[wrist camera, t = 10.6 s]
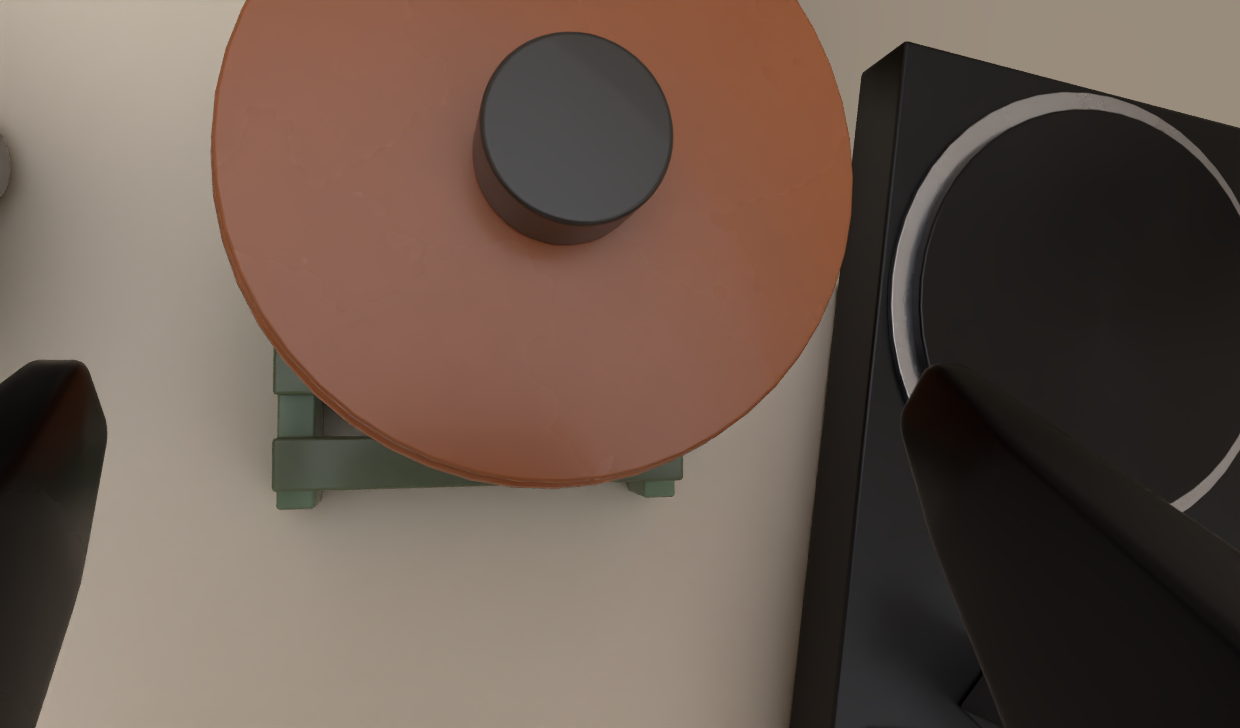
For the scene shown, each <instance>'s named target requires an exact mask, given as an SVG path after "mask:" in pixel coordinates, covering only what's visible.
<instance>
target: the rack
mask: <svg viewBox="0 0 1240 728" xmlns="http://www.w3.org/2000/svg"><path fill="white" fill-rule="evenodd" d="M273 392H274V394H276V395H278V427H277V438H275V439H274V440H273V442H272V490H273V491H275V492H277V506H276V507H277V509H279V510H290V509H312V508H314V507H315V506H316V505H317V504H318V503H319V502H320V501H321V499H322V491H326V490H361V489H395V488H430V487H465V486H499V485H495V484H489V483H484V482H478V481H472V480H468V479H465V478H461V477H458V476H455V475H452V474H448V473H445V472H442V471H439V470H436V469H432V468H429V467H427V466H425V465H422V464H420V463H418V462H416V461H414V460H412V459H409V458H407V457H405V456H403V455H401V454H398V453H396V452H394V451H392V450H390V449H388V448H386V447H385V446H383V445H381V444H380V443H378V442H377V441H375V440H374V439H372V438H370V437H369V436H323V402H322V401H321V400H320V399H319V398H317V397H316V396H315V395H314V394H313V393H312V392H311V390H310V389H309V388H308V387H307V386H306V385H305V384H304V383H303V382H302V381H301V380H300V378H299V377H298V376H297V375H296V374H295V373H294V372H293V371H292V370H291V369H290V368H289V367H288V365H287V364H286V363H285V362H284V361H283V359H282V358H281V356H280V355H279V354H278V352H277V351H276V349H275V348H274V358H273ZM682 478H683V456H681V457H680V458H678V459H676V460H674V461H672V462H670V463H667V464H664V465H662V466H659V467H657V468H654V469H651V470H649V471H646V472H643V473H641V474H638V475H635V476H632V477H627V478H623V479H619V480H615V481H610V482H628V489H629V491H631V492H633V493H636V494H638V495H641V496H644V497H646V498H647V497H672V496H674V480H681V479H682Z"/></svg>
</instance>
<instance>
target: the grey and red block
mask: <svg viewBox="0 0 1240 728" xmlns="http://www.w3.org/2000/svg"><path fill="white" fill-rule="evenodd" d="M961 707H962V709H963V710H964V711H965V712H966V713H967V714H968V715H969V716H970V717H971V718H972V719H974V720H975V721H976V722H977V723H978V724H979V725H980V726H981V727H982V728H1004V725H1003V723H1002V720H1001V718H1000V715H999V713H998V710H997V708H996V705H995V703H994V700H993V698H992V695H991V692H990V690H989V687H988V685H987V682H986V680H985V677H984V675H983V676H982V677H981V678H980V680H979V681H978V682H977V684H976V685H975V687H974V688H973V689H972V691H971V692H970V694H969V695H968V696H967V698H966V699H965V700H964V702H963V703H962V705H961Z"/></svg>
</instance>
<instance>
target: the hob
mask: <svg viewBox="0 0 1240 728" xmlns="http://www.w3.org/2000/svg"><path fill="white" fill-rule="evenodd" d="M1059 92H1075V93H1091V94H1096V95H1102V96H1107V97H1112V98H1115V99H1118V100H1121V101H1124V102H1127V103H1130V104H1133V105H1135V106H1137V107H1139V108H1141V109H1143V110H1145V111H1147V112H1149V113H1151V114H1153V115H1155V116H1157V117H1159V118H1160V119H1162V120H1163V121H1165V122H1166V123H1168V124H1169V125H1171V126H1172V127H1174V128H1175V129H1177V130H1178V131H1179V132H1180V133H1182V134H1183V135H1184V136H1185V137H1186V138H1187V139H1188V140H1189V141H1191V142H1192V143H1193V144H1194V145H1195V146H1196V147H1197V148H1198V149H1199V150H1200V151H1201V152H1202V153H1203V154H1204V155H1205V156H1206V157H1207V159H1208V160H1209V161H1210V162H1211V163H1212V164H1213V165H1214V166H1215V168H1216V169H1217V170H1218V172H1219V173H1220V175H1221V176H1222V177H1223V179H1224V180H1225V182H1226V183H1227V185H1228V186H1229V187H1230V189H1231V190H1232V192H1233V194H1234V196H1235V198H1236V199H1237V201H1238V203H1239V205H1240V128H1238V127H1234V126H1230V125H1226V124H1222V123H1219V122H1214V121H1211V120H1207V119H1203V118H1199V117H1196V116H1192V115H1188V114H1184V113H1180V112H1176V111H1173V110H1168V109H1165V108H1161V107H1157V106H1153V105H1150V104H1145V103H1142V102H1138V101H1134V100H1130V99H1127V98H1123V97H1119V96H1115V95H1111V94H1107V93H1104V92H1100V91H1096V90H1092V89H1088V88H1084V87H1080V86H1077V85H1073V84H1069V83H1065V82H1061V81H1057V80H1053V79H1050V78H1046V77H1042V76H1038V75H1034V74H1031V73H1027V72H1023V71H1019V70H1015V69H1011V68H1008V67H1004V66H999V65H996V64H992V63H988V62H985V61H981V60H977V59H973V58H969V57H965V56H961V55H958V54H954V53H950V52H946V51H942V50H938V49H934V48H931V47H927V46H923V45H919V44H916V43H912V42H904V43H902V44H901V45H900V46H898V47H897V48H896V49H894V50H893V51H892V52H890V53H889V54H887V55H886V56H885V57H883V58H882V59H881V60H879V61H878V62H877V63H875V64H874V65H873V66H871V67H870V68H869V69H867V70H866V71H865V72H863V74H862V77H861V85H860V94H859V104H858V114H857V122H856V131H855V140H854V149H853V158H852V174H853V183H852V208H851V219H850V225H849V231H848V238H847V244H846V250H845V254H844V258H843V261H842V265H841V268H840V275H839V284H838V294H837V303H836V312H835V321H834V330H833V339H832V348H831V357H830V366H829V375H828V384H827V393H826V402H825V411H824V420H823V429H822V438H821V447H820V456H819V465H818V474H817V484H816V493H815V502H814V511H813V520H812V529H811V538H810V547H809V556H808V565H807V574H806V583H805V592H804V601H803V610H802V619H801V628H800V637H799V646H798V655H797V664H796V674H795V683H794V692H793V701H792V710H791V719H790V728H982V727H981V726H980V725H979V724H978V723H977V722H976V721H975V720H974V719H972V718H971V717H970V716H969V715H968V714H967V713H966V712H965V711H964V710H963V709H962V707H961V705H962V703H963V702H964V700H965V699H966V698H967V696H968V695H969V694H970V692H971V691H972V689H973V688H974V687H975V685H976V684H977V682H978V681H979V680H980V678H981V677H982V676H983V672H982V670H981V667H980V664H979V662H978V659H977V657H976V654H975V652H974V649H973V647H972V644H971V642H970V639H969V637H968V634H967V631H966V629H965V626H964V624H963V621H962V619H961V616H960V614H959V611H958V609H957V606H956V604H955V601H954V598H953V596H952V593H951V591H950V588H949V586H948V583H947V581H946V578H945V576H944V573H943V570H942V568H941V565H940V563H939V560H938V558H937V555H936V552H935V549H934V547H933V544H932V541H931V538H930V535H929V532H928V528H927V525H926V522H925V518H924V515H923V511H922V507H921V504H920V500H919V496H918V493H917V489H916V485H915V482H914V478H913V475H912V471H911V467H910V464H909V460H908V456H907V453H906V449H905V445H904V442H903V438H902V435H901V430H900V417H901V413H902V410H903V408H904V406H905V404H906V401H905V399H904V395H903V392H902V389H901V386H900V383H899V380H898V376H897V373H896V370H895V365H894V360H893V355H892V350H891V344H890V339H889V325H888V311H887V303H888V282H889V273H890V267H891V261H892V255H893V249H894V245H895V241H896V238H897V235H898V231H899V228H900V225H901V221H902V218H903V216H904V214H905V211H906V209H907V207H908V205H909V202H910V200H911V198H912V196H913V193H914V191H915V190H916V188H917V187H918V185H919V183H920V182H921V180H922V178H923V177H924V175H925V173H926V172H927V170H928V169H929V167H930V166H931V165H932V164H933V162H934V161H935V160H936V159H937V157H938V156H939V155H940V154H941V153H942V151H943V150H944V149H945V148H946V147H947V146H948V145H949V144H950V143H951V142H952V141H953V140H954V139H955V138H956V137H958V136H959V135H960V134H961V133H962V132H963V131H964V130H965V129H967V128H968V127H970V126H971V125H973V124H974V123H976V122H977V121H979V120H980V119H982V118H983V117H984V116H986V115H988V114H990V113H992V112H994V111H996V110H998V109H1000V108H1002V107H1004V106H1007V105H1009V104H1011V103H1013V102H1016V101H1019V100H1023V99H1026V98H1030V97H1033V96H1037V95H1043V94H1051V93H1059ZM1182 513H1184V514H1185V515H1187V516H1188V517H1190V518H1191V519H1193V520H1194V521H1196V522H1197V523H1199V524H1200V525H1202V526H1203V527H1205V528H1206V529H1208V530H1209V531H1211V532H1212V533H1214V534H1215V535H1216V536H1218V537H1219V538H1221V539H1222V540H1224V541H1225V542H1227V543H1228V544H1230V545H1231V546H1233V547H1234V548H1236V549H1237V550H1239V551H1240V450H1239V452H1238V453H1237V455H1236V456H1235V458H1234V459H1233V461H1232V462H1231V464H1230V465H1229V467H1228V468H1227V470H1226V471H1225V473H1224V474H1223V475H1222V476H1221V477H1220V478H1219V480H1218V481H1217V482H1216V483H1215V484H1214V485H1213V487H1212V488H1211V489H1210V490H1209V491H1208V492H1207V493H1206V494H1205V495H1203V496H1202V497H1201V498H1200V499H1199V500H1198V501H1197V502H1196V503H1194V504H1193V505H1192V506H1191V507H1190V508H1188V509H1187V510H1185V511H1184V512H1182Z"/></svg>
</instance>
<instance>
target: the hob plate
mask: <svg viewBox="0 0 1240 728" xmlns="http://www.w3.org/2000/svg"><path fill="white" fill-rule="evenodd" d="M887 311H888V325H889V339H890V344H891V350H892V355H893V360H894V365H895V370H896V373H897V376H898V380H899V383H900V386H901V389H902V392H903V395H904V399H905V401H906V402H907V401H908V399H909V397H910V395H911V393H912V391H913V390H914V388H915V386H916V384H917V382H918V380H919V379H920V377H921V375H922V373H923V372H924V370H925V369H926V368H928V367H929V366H930V365H934V364H960V365H964V366H966V367H968V368H970V369H971V370H973V371H974V372H976V373H977V374H979V375H980V376H981V377H983V378H984V379H986V380H987V381H989V382H990V383H992V384H993V385H995V386H996V387H998V388H999V389H1001V390H1002V391H1004V392H1005V393H1007V394H1008V395H1010V396H1011V397H1012V398H1014V399H1015V400H1017V401H1018V402H1020V403H1021V404H1023V405H1024V406H1026V407H1027V408H1029V409H1030V410H1032V411H1033V412H1035V413H1036V414H1038V415H1039V416H1041V417H1042V418H1044V419H1045V420H1046V421H1048V422H1049V423H1051V424H1052V425H1054V426H1055V427H1057V428H1058V429H1060V430H1061V431H1063V432H1064V433H1066V434H1067V435H1069V436H1070V437H1072V438H1073V439H1075V440H1076V441H1077V442H1079V443H1080V444H1082V445H1083V446H1085V447H1086V448H1088V449H1089V450H1091V451H1092V452H1094V453H1095V454H1097V455H1098V456H1100V457H1101V458H1103V459H1104V460H1106V461H1107V462H1109V463H1110V464H1111V465H1113V466H1114V467H1116V468H1117V469H1119V470H1120V471H1122V472H1123V473H1125V474H1126V475H1128V476H1129V477H1131V478H1132V479H1134V480H1135V481H1137V482H1138V483H1140V484H1141V485H1143V486H1144V487H1145V488H1147V489H1148V490H1150V491H1151V492H1153V493H1154V494H1156V495H1157V496H1159V497H1160V498H1162V499H1163V500H1165V501H1166V502H1168V503H1169V504H1171V505H1172V506H1174V507H1175V508H1177V509H1178V510H1179V511H1181V512H1184V511H1185V510H1187V509H1188V508H1190V507H1191V506H1192V505H1193V504H1194V503H1196V502H1197V501H1198V500H1199V499H1200V498H1201V497H1202V496H1203V495H1205V494H1206V493H1207V492H1208V491H1209V490H1210V489H1211V488H1212V487H1213V485H1214V484H1215V483H1216V482H1217V481H1218V480H1219V478H1220V477H1221V476H1222V475H1223V474H1224V473H1225V471H1226V470H1227V468H1228V467H1229V465H1230V464H1231V462H1232V461H1233V459H1234V458H1235V456H1236V455H1237V453H1238V452H1239V450H1240V205H1239V203H1238V201H1237V199H1236V198H1235V196H1234V194H1233V192H1232V190H1231V189H1230V187H1229V186H1228V185H1227V183H1226V182H1225V180H1224V179H1223V177H1222V176H1221V175H1220V173H1219V172H1218V170H1217V169H1216V168H1215V166H1214V165H1213V164H1212V163H1211V162H1210V161H1209V160H1208V159H1207V157H1206V156H1205V155H1204V154H1203V153H1202V152H1201V151H1200V150H1199V149H1198V148H1197V147H1196V146H1195V145H1194V144H1193V143H1192V142H1191V141H1189V140H1188V139H1187V138H1186V137H1185V136H1184V135H1183V134H1182V133H1180V132H1179V131H1178V130H1177V129H1175V128H1174V127H1172V126H1171V125H1169V124H1168V123H1166V122H1165V121H1163V120H1162V119H1160V118H1159V117H1157V116H1155V115H1153V114H1151V113H1149V112H1147V111H1145V110H1143V109H1141V108H1139V107H1137V106H1135V105H1133V104H1130V103H1127V102H1124V101H1121V100H1118V99H1115V98H1112V97H1107V96H1102V95H1096V94H1091V93H1075V92H1059V93H1051V94H1043V95H1037V96H1033V97H1030V98H1026V99H1023V100H1019V101H1016V102H1013V103H1011V104H1009V105H1007V106H1004V107H1002V108H1000V109H998V110H996V111H994V112H992V113H990V114H988V115H986V116H984V117H983V118H982V119H980V120H979V121H977V122H976V123H974V124H973V125H971V126H970V127H968V128H967V129H965V130H964V131H963V132H962V133H961V134H960V135H959V136H958V137H956V138H955V139H954V140H953V141H952V142H951V143H950V144H949V145H948V146H947V147H946V148H945V149H944V150H943V151H942V153H941V154H940V155H939V156H938V157H937V159H936V160H935V161H934V162H933V164H932V165H931V166H930V167H929V169H928V170H927V172H926V173H925V175H924V177H923V178H922V180H921V182H920V183H919V185H918V187H917V188H916V190H915V191H914V193H913V196H912V198H911V200H910V202H909V205H908V207H907V209H906V211H905V214H904V216H903V218H902V221H901V225H900V228H899V231H898V235H897V238H896V241H895V245H894V249H893V255H892V261H891V267H890V273H889V282H888V303H887Z"/></svg>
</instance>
